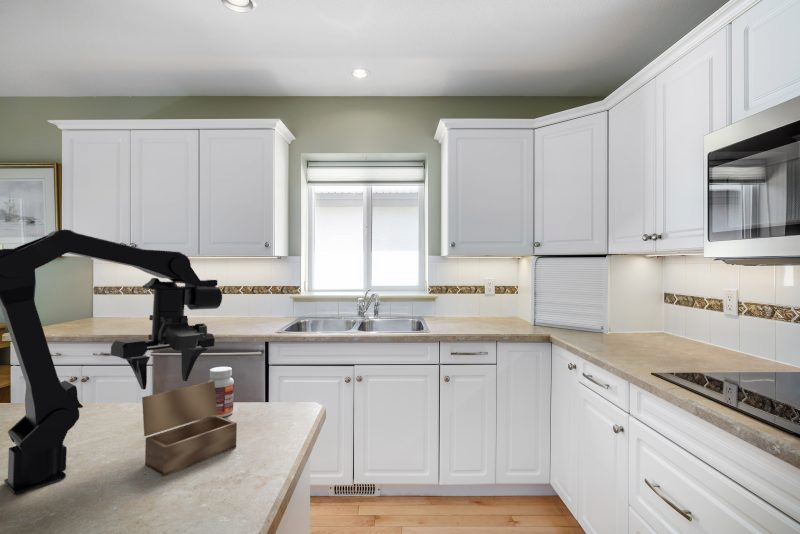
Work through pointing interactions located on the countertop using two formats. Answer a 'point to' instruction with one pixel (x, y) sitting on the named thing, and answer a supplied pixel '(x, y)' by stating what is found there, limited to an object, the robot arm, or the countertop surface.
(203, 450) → the box
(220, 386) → the pill bottle
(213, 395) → the lid
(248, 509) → the countertop surface
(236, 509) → the countertop surface
